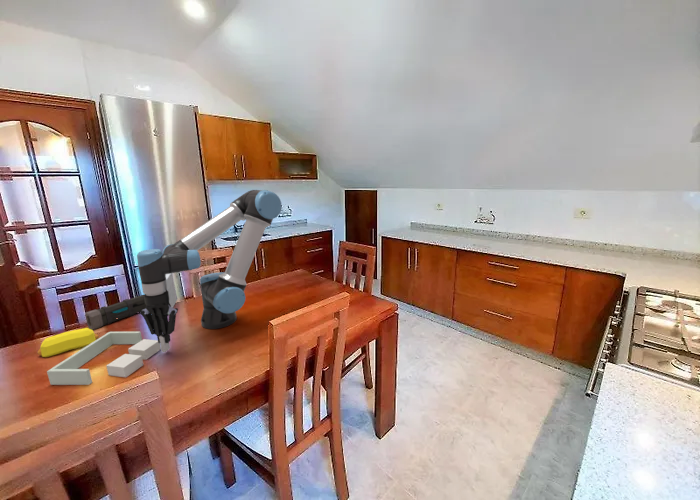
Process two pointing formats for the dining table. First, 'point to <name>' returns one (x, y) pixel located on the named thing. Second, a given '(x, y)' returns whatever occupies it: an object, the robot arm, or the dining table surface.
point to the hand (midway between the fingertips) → (165, 350)
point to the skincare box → (171, 290)
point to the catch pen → (87, 359)
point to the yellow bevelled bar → (67, 342)
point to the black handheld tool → (114, 312)
